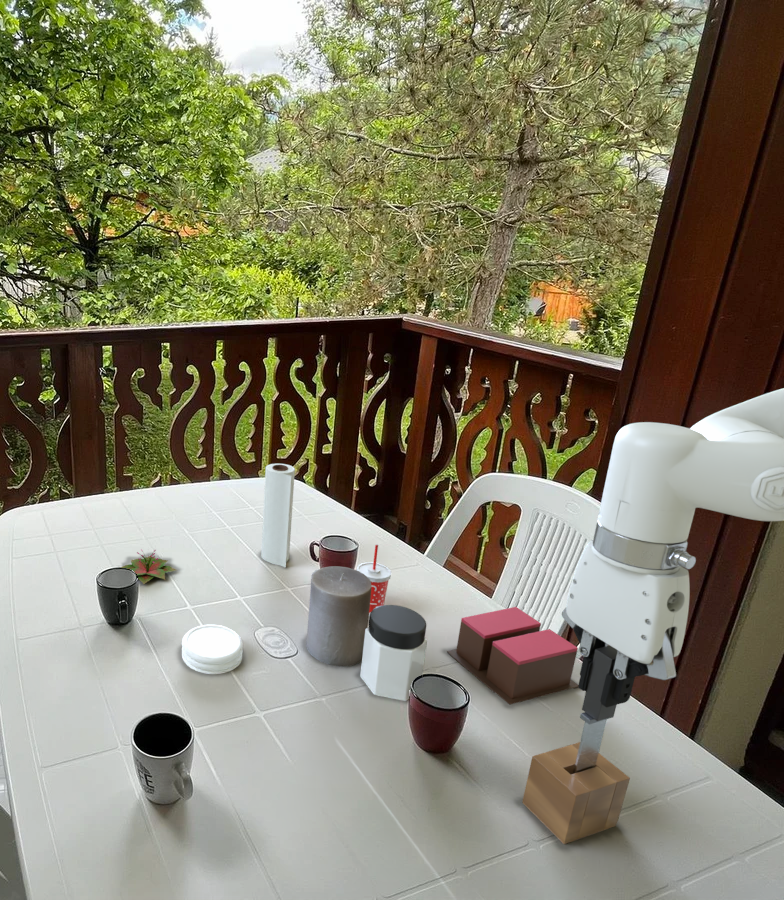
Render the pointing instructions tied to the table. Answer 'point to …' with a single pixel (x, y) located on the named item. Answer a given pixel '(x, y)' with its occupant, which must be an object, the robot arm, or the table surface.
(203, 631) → the coaster
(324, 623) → the pillar candle
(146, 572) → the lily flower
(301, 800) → the table surface
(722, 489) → the robot arm
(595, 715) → the knife
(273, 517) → the paper towel roll
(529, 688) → the cake
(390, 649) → the jar
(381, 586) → the beverage cup
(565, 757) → the knife block
